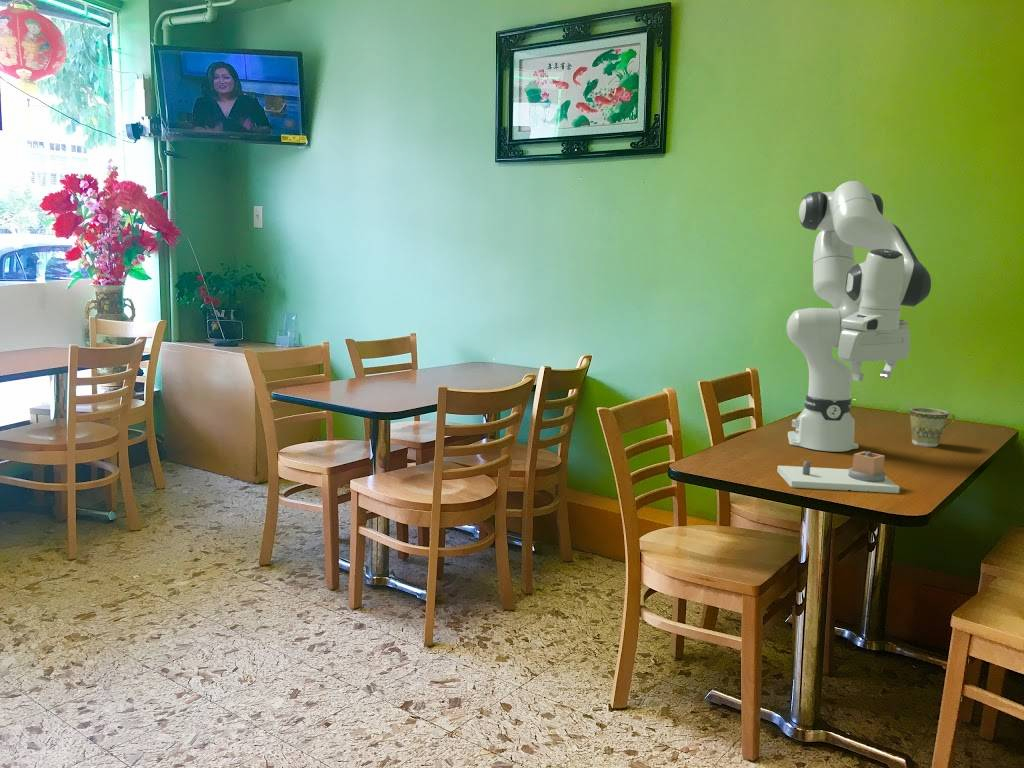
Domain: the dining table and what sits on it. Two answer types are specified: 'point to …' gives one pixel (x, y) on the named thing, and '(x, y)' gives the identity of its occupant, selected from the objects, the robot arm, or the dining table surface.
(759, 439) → the dining table surface
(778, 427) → the dining table surface
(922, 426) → the ceramic cup
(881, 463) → the collar
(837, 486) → the board
